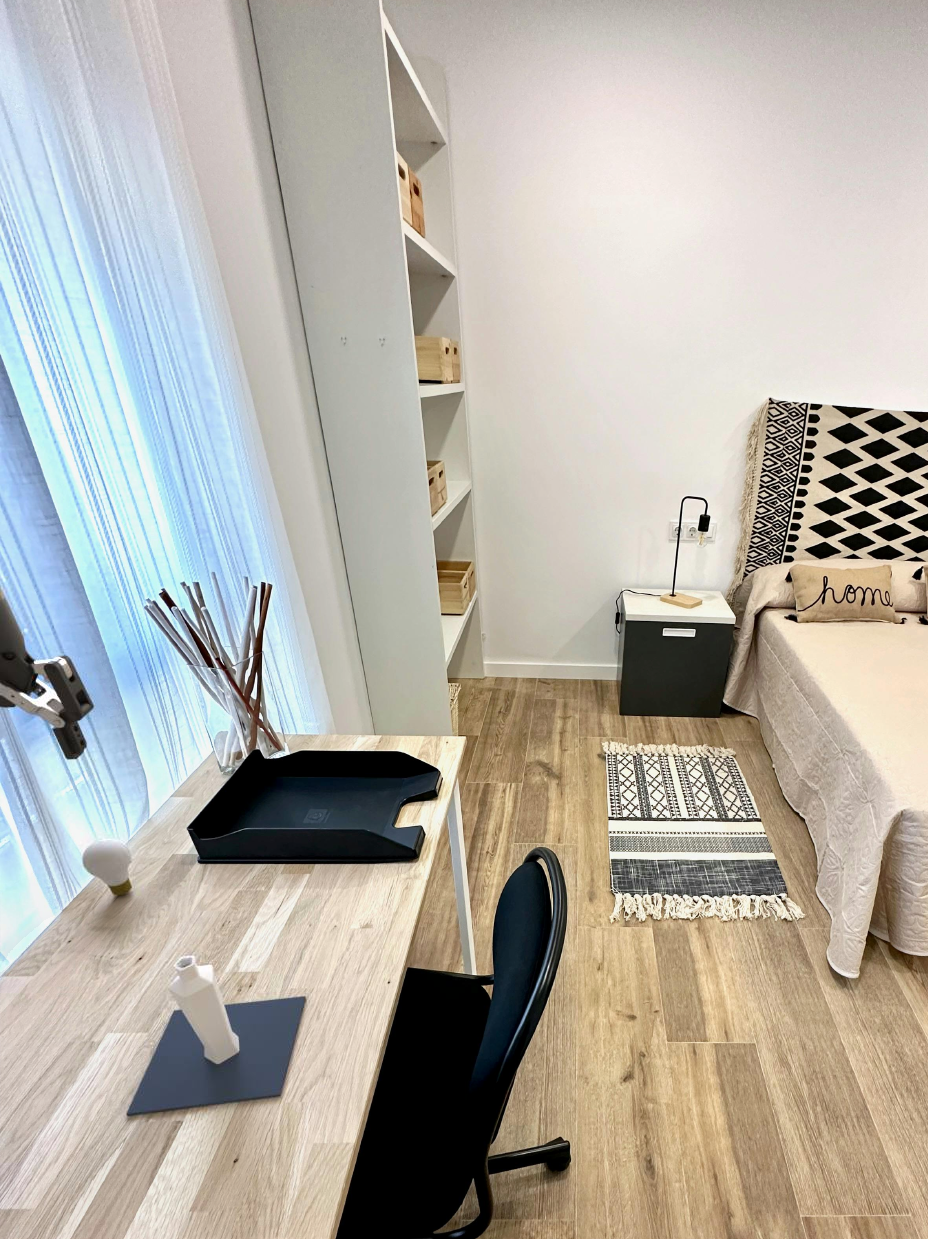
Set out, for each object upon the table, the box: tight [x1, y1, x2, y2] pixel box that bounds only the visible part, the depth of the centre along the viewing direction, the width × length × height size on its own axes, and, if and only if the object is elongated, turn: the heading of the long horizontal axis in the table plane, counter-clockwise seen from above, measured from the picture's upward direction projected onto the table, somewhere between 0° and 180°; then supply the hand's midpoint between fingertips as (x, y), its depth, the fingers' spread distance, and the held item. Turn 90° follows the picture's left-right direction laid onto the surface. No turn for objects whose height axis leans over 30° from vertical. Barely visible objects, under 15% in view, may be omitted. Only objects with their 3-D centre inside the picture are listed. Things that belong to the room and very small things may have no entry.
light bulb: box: [81, 838, 133, 896], centre depth 99 cm, size 6×6×10 cm
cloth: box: [125, 995, 307, 1117], centre depth 79 cm, size 16×14×1 cm
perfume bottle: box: [167, 955, 239, 1064], centre depth 74 cm, size 5×4×15 cm
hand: (29, 758), depth 66 cm, fingers open, 8 cm apart
